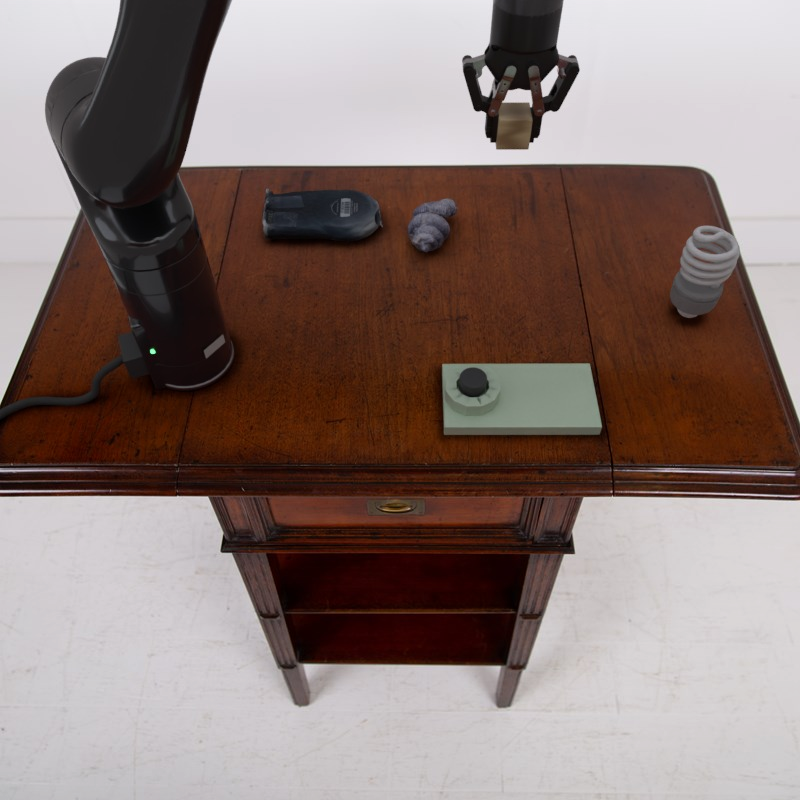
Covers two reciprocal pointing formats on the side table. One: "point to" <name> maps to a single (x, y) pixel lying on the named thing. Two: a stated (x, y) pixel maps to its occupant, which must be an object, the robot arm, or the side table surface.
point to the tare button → (473, 382)
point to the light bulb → (703, 271)
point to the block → (514, 126)
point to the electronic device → (320, 215)
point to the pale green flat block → (523, 401)
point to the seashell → (431, 224)
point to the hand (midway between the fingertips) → (511, 138)
